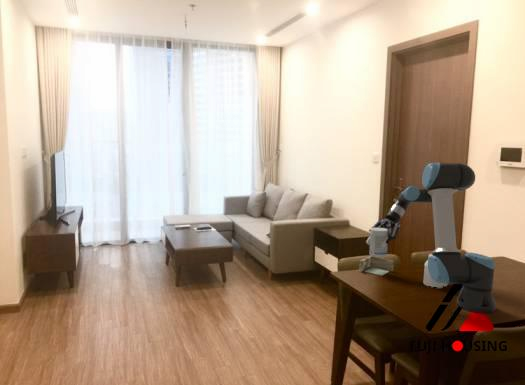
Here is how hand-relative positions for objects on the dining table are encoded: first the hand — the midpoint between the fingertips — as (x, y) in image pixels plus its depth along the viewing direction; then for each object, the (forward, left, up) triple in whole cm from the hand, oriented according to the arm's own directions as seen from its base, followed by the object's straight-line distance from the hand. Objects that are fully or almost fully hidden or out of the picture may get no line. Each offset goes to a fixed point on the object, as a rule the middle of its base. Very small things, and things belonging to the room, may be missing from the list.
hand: (374, 245), depth 230 cm
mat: (+2, -1, -15) cm, 15 cm away
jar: (+4, -32, -15) cm, 36 cm away
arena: (+2, -1, -15) cm, 15 cm away
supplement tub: (+3, -1, -6) cm, 7 cm away
